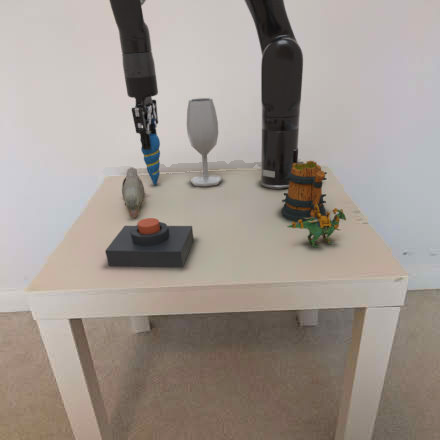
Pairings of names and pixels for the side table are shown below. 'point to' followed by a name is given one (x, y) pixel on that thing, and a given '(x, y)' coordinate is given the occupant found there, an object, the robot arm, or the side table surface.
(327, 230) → the figurine
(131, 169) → the decorative bird
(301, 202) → the mug
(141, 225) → the button
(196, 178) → the wineglass
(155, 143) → the ornament
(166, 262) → the buzzer
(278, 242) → the side table surface
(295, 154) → the robot arm
